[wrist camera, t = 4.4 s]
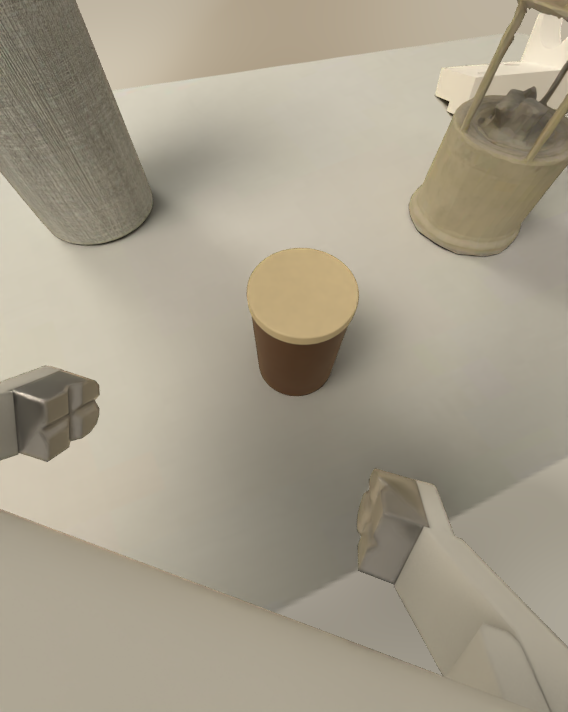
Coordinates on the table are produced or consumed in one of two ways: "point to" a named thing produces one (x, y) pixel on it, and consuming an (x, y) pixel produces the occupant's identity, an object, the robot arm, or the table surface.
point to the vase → (65, 127)
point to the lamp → (494, 159)
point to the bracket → (515, 69)
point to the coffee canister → (300, 317)
